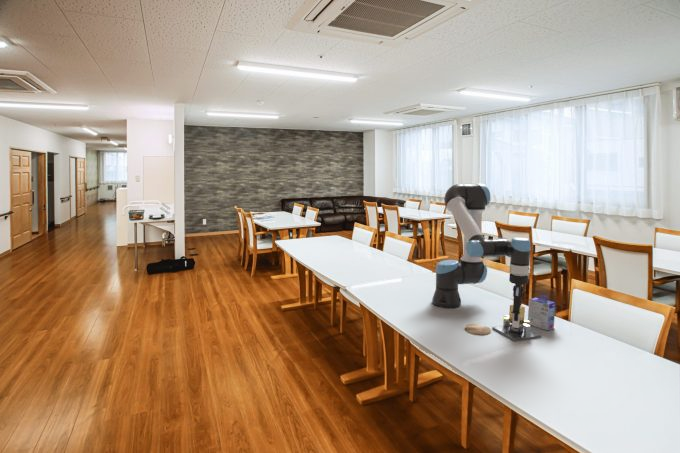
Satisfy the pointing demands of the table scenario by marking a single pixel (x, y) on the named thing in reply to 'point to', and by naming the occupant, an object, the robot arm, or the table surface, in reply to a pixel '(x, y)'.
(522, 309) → the bell
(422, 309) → the table surface
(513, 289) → the robot arm
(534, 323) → the ink cartridge box
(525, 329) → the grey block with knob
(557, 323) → the table surface
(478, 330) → the coaster
